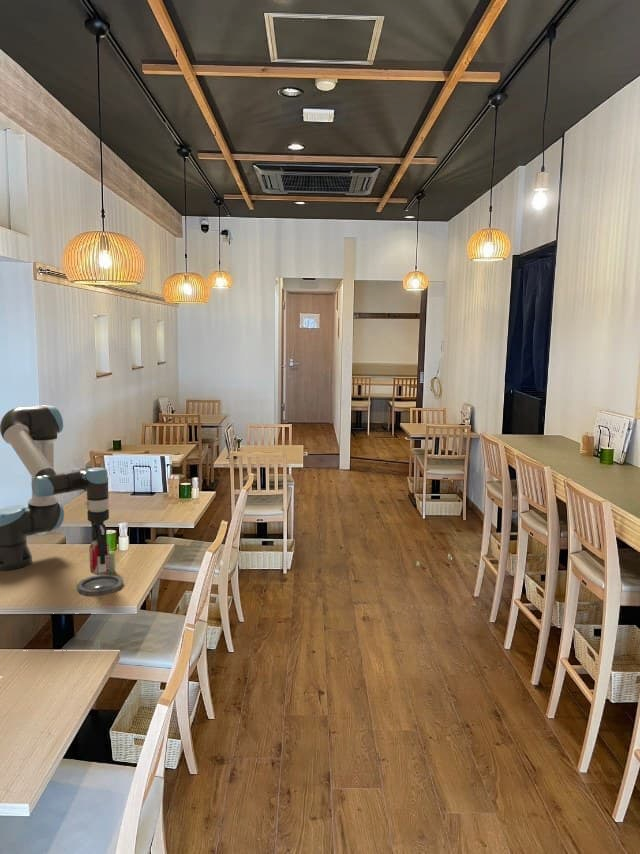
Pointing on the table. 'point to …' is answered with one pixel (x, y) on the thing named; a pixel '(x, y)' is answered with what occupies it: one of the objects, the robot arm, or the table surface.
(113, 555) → the tea canister
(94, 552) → the soda can
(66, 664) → the table surface
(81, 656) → the table surface
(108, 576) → the saucer
